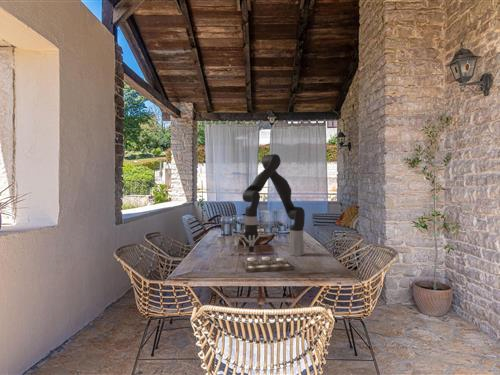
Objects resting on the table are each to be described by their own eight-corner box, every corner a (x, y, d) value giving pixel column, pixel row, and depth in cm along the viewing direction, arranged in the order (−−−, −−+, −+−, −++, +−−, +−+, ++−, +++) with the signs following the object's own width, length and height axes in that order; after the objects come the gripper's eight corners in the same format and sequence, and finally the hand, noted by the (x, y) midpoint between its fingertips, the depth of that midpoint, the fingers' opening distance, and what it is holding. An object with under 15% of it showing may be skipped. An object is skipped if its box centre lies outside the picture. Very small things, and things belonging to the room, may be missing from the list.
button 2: (283, 260, 234) (283, 257, 233) (285, 262, 229) (285, 259, 228) (275, 261, 233) (275, 258, 232) (277, 263, 228) (277, 260, 228)
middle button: (269, 259, 232) (269, 256, 232) (271, 261, 227) (271, 258, 227) (261, 260, 231) (261, 256, 231) (263, 261, 226) (262, 258, 226)
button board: (285, 263, 238) (285, 256, 237) (293, 269, 222) (293, 262, 222) (241, 265, 232) (241, 259, 232) (246, 272, 217) (246, 265, 216)
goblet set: (216, 255, 260) (216, 236, 259) (217, 253, 265) (217, 235, 265) (257, 255, 261) (257, 236, 260) (256, 253, 266) (256, 234, 266)
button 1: (254, 260, 230) (254, 257, 230) (256, 262, 225) (256, 259, 225) (246, 260, 229) (246, 257, 229) (248, 262, 224) (248, 259, 224)
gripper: (260, 222, 231) (260, 250, 232) (239, 223, 229) (239, 251, 229) (263, 224, 224) (263, 253, 224) (241, 224, 221) (241, 254, 222)
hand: (251, 252), depth 227 cm, fingers closed
